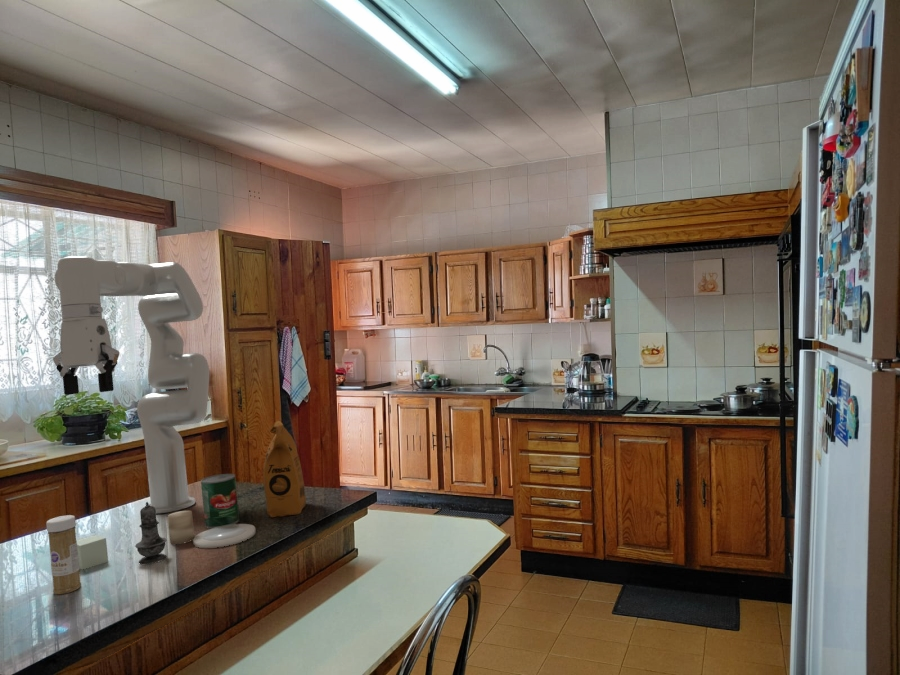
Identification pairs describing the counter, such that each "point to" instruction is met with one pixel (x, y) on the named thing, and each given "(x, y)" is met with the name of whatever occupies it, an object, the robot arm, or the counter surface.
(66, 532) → the sprinkles bottle
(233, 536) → the plate
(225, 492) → the canned tomato
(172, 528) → the beige rounded cylinder
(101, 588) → the counter surface
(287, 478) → the coffee package
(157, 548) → the dark grey chess piece
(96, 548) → the sage block
